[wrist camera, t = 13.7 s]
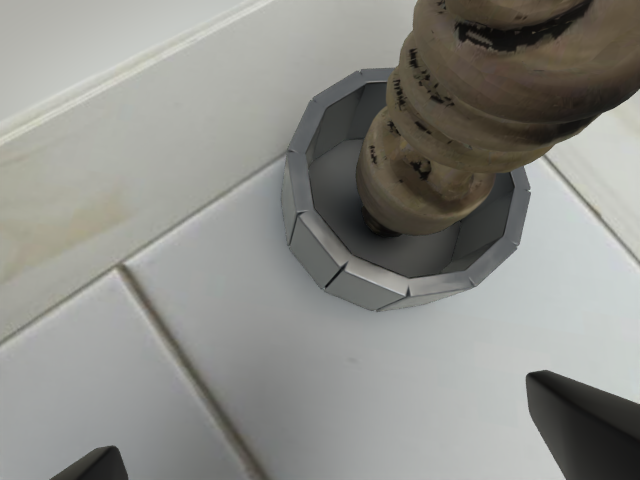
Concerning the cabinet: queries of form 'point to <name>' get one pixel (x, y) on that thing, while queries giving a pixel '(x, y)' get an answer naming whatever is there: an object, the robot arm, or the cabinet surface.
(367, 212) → the light bulb
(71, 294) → the cabinet surface
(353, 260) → the faceted gray ring
